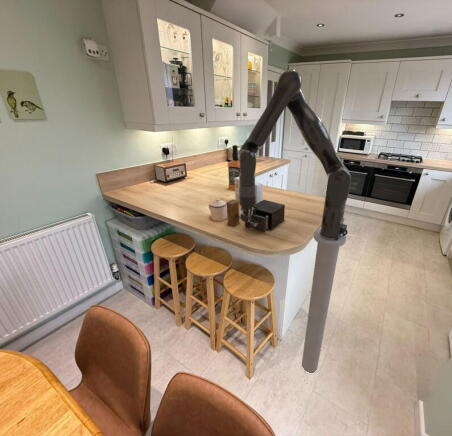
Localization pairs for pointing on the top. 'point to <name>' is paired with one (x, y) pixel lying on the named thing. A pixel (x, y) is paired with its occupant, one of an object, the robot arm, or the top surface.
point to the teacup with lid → (218, 210)
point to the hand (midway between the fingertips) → (248, 227)
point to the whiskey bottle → (233, 168)
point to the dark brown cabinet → (272, 212)
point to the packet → (232, 212)
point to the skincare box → (258, 190)
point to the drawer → (260, 221)
